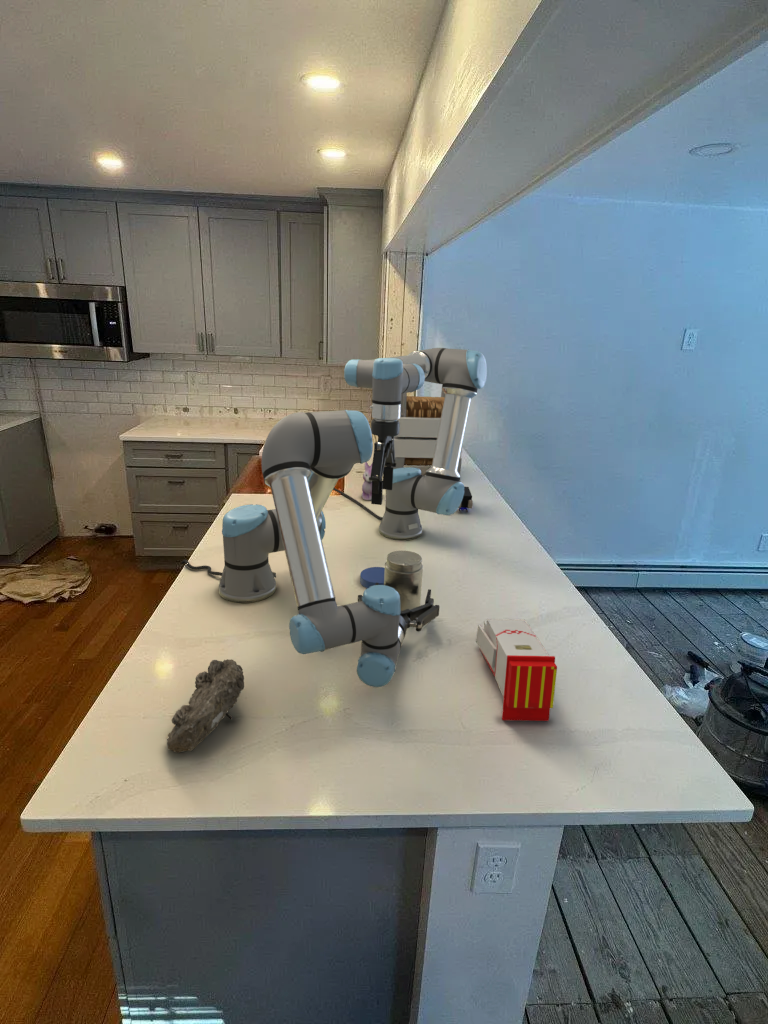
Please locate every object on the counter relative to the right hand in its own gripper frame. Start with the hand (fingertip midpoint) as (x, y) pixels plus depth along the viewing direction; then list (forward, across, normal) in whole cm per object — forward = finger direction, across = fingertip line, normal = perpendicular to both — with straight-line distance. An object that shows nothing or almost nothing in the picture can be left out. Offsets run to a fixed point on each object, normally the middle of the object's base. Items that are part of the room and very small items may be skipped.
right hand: (382, 496), depth 155 cm
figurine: (+26, -74, -20) cm, 82 cm away
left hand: (+20, +16, +10) cm, 27 cm away
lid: (+24, 0, 0) cm, 24 cm away
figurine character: (+26, -73, +18) cm, 80 cm away
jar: (+26, +15, +10) cm, 31 cm away
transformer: (+26, -119, -7) cm, 122 cm away
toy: (+26, +37, +38) cm, 59 cm away
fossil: (+26, +64, -18) cm, 72 cm away
